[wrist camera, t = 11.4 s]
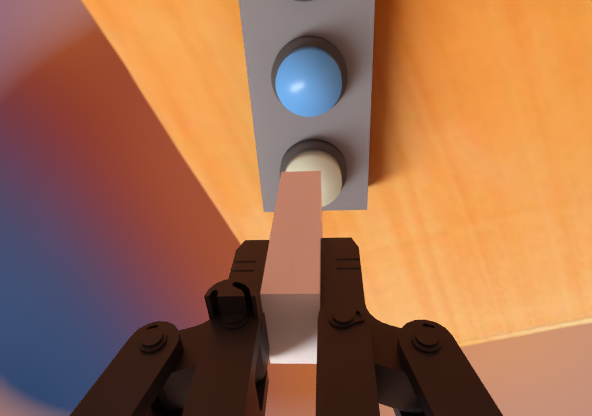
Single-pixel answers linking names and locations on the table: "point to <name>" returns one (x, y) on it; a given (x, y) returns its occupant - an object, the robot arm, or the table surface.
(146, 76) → the table surface
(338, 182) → the sage button
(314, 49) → the blue button
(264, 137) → the button panel
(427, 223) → the table surface
